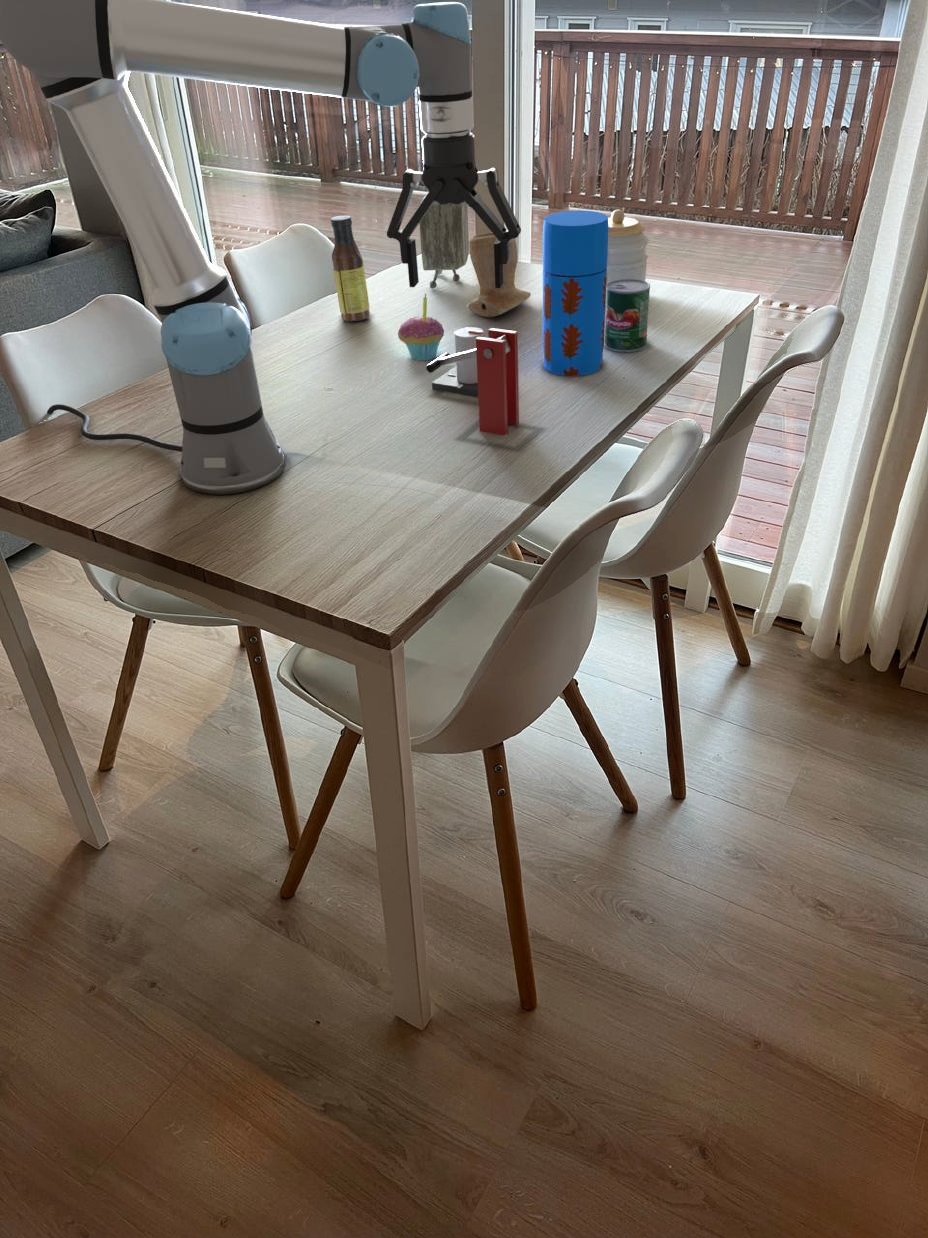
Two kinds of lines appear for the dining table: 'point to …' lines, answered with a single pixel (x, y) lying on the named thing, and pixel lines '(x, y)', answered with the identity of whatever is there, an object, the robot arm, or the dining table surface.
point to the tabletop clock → (444, 238)
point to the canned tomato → (626, 315)
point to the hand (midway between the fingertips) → (456, 285)
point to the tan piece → (483, 262)
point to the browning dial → (466, 342)
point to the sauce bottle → (349, 272)
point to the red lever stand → (497, 381)
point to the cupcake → (421, 335)
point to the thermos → (574, 291)
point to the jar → (626, 248)
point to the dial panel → (454, 384)
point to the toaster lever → (458, 357)
